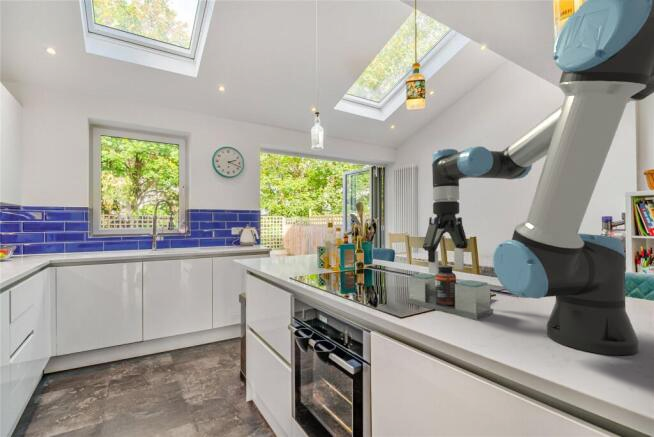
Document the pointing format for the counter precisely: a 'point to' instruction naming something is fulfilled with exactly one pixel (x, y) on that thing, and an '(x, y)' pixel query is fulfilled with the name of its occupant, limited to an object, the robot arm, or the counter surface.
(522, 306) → the counter surface
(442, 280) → the supplement bottle
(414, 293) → the rail
